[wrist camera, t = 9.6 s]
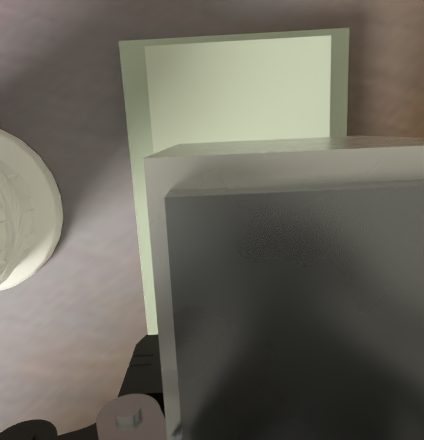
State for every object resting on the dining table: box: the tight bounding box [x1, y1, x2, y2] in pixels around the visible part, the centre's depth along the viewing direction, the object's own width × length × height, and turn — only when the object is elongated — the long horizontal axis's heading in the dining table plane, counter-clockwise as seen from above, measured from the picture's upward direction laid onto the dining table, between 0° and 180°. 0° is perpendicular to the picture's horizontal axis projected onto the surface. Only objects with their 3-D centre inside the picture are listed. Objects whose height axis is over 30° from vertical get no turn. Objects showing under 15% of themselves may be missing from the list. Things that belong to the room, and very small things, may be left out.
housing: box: [143, 136, 424, 440], centre depth 10 cm, size 12×6×7 cm, turn 3°
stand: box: [118, 28, 349, 335], centre depth 25 cm, size 14×24×4 cm, turn 3°
